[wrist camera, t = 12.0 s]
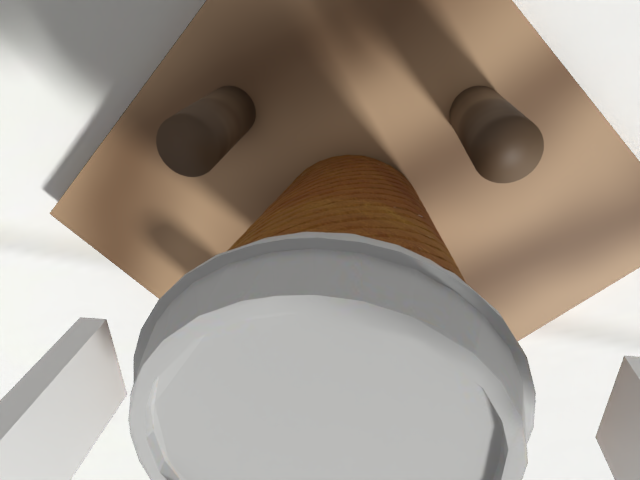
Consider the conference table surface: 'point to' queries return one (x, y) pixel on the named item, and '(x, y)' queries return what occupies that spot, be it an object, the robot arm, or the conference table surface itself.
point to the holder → (370, 144)
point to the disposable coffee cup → (331, 349)
